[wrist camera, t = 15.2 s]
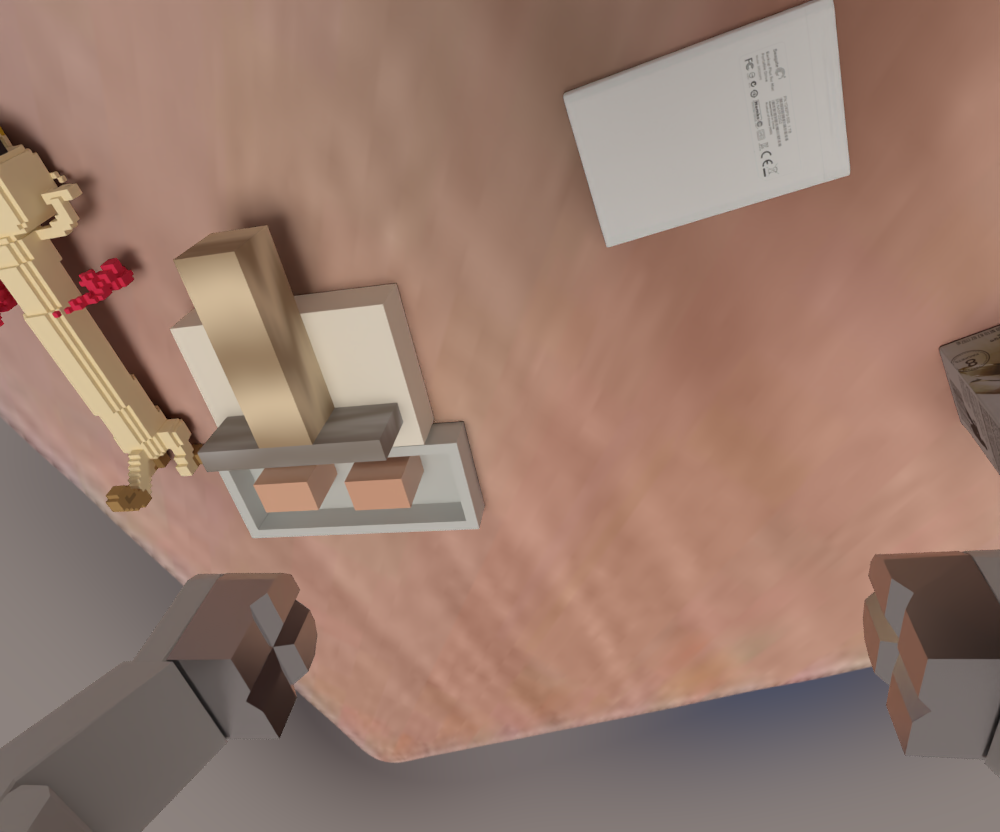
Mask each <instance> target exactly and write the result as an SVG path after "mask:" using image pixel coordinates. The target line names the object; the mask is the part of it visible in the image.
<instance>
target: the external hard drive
mask: <svg viewBox="0 0 1000 832" xmlns="http://www.w3.org/2000/svg"><path fill="white" fill-rule="evenodd" d="M563 99H564V103H565V106H566V110H567V113H568V117H569V120H570V123H571V127H572V130H573V134H574V137H575V141H576V144H577V147H578V151H579V154H580V158H581V161H582V165H583V168H584V171H585V175H586V178H587V182H588V185H589V189H590V192H591V195H592V199H593V202H594V206H595V209H596V213H597V216H598V220H599V223H600V227H601V230H602V234H603V236H604V239H605V243H606V247H612V246H615V245H618V244H621V243H625V242H629V241H632V240H635V239H638V238H642V237H645V236H648V235H651V234H655V233H658V232H661V231H665V230H668V229H671V228H675V227H678V226H681V225H685V224H688V223H691V222H695V221H698V220H701V219H704V218H708V217H711V216H714V215H718V214H721V213H725V212H728V211H731V210H735V209H738V208H741V207H745V206H748V205H751V204H755V203H758V202H761V201H765V200H768V199H771V198H775V197H778V196H781V195H784V194H788V193H791V192H795V191H798V190H801V189H805V188H808V187H811V186H814V185H818V184H821V183H824V182H828V181H831V180H835V179H838V178H841V177H845V176H848V175H850V162H849V153H848V142H847V133H846V123H845V112H844V103H843V92H842V81H841V72H840V61H839V50H838V40H837V30H836V20H835V9H834V3H833V0H812V1H809V2H807V3H804V4H801V5H799V6H796V7H793V8H790V9H788V10H785V11H783V12H780V13H777V14H775V15H772V16H769V17H766V18H764V19H761V20H758V21H756V22H753V23H750V24H748V25H745V26H742V27H740V28H737V29H734V30H732V31H729V32H726V33H723V34H721V35H718V36H715V37H713V38H710V39H707V40H705V41H702V42H699V43H697V44H694V45H691V46H689V47H686V48H683V49H681V50H678V51H675V52H673V53H670V54H667V55H665V56H662V57H659V58H657V59H654V60H651V61H649V62H646V63H643V64H641V65H638V66H635V67H633V68H630V69H627V70H624V71H622V72H619V73H616V74H614V75H611V76H608V77H606V78H603V79H600V80H597V81H595V82H592V83H589V84H587V85H584V86H581V87H579V88H576V89H574V90H571V91H568V92H566V93H564V95H563Z"/></svg>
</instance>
